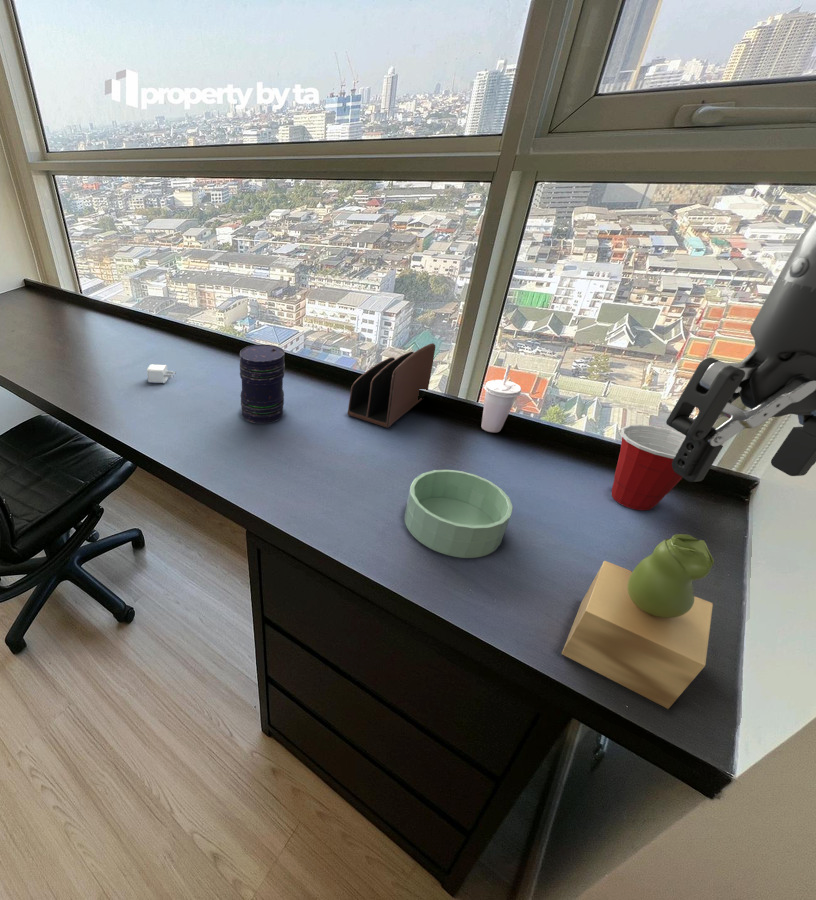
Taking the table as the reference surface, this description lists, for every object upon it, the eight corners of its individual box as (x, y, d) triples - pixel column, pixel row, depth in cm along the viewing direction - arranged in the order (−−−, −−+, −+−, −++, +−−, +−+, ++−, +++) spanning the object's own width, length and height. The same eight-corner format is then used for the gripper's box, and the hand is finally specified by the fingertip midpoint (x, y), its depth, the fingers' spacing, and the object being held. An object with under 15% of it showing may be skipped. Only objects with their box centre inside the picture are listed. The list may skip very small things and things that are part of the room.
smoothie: (507, 423, 102) (527, 361, 94) (508, 438, 97) (529, 374, 90) (474, 418, 104) (490, 357, 97) (473, 432, 100) (491, 370, 92)
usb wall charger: (153, 377, 132) (151, 363, 130) (177, 378, 131) (175, 364, 129) (148, 383, 129) (146, 369, 127) (173, 384, 128) (171, 370, 125)
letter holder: (427, 396, 114) (439, 339, 107) (387, 429, 103) (397, 368, 95) (388, 385, 120) (396, 330, 113) (346, 415, 109) (352, 356, 101)
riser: (679, 647, 58) (713, 603, 53) (668, 709, 52) (705, 665, 47) (581, 603, 64) (604, 560, 59) (561, 654, 58) (585, 610, 53)
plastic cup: (682, 499, 79) (719, 437, 73) (665, 530, 74) (704, 466, 67) (604, 472, 86) (632, 413, 80) (583, 499, 81) (612, 438, 74)
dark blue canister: (253, 427, 106) (252, 365, 98) (233, 409, 114) (231, 349, 106) (291, 416, 109) (293, 355, 101) (270, 399, 117) (270, 341, 109)
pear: (616, 581, 56) (654, 517, 51) (674, 597, 54) (720, 531, 49) (623, 617, 52) (665, 551, 47) (686, 636, 50) (737, 569, 45)
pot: (523, 542, 73) (535, 512, 70) (446, 569, 70) (455, 538, 66) (455, 489, 84) (463, 462, 81) (386, 510, 81) (391, 481, 78)
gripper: (815, 298, 29) (689, 506, 38) (1051, 284, 29) (871, 495, 38) (705, 271, 36) (619, 454, 44) (899, 259, 35) (774, 445, 44)
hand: (735, 473), depth 41 cm, fingers open, 8 cm apart
